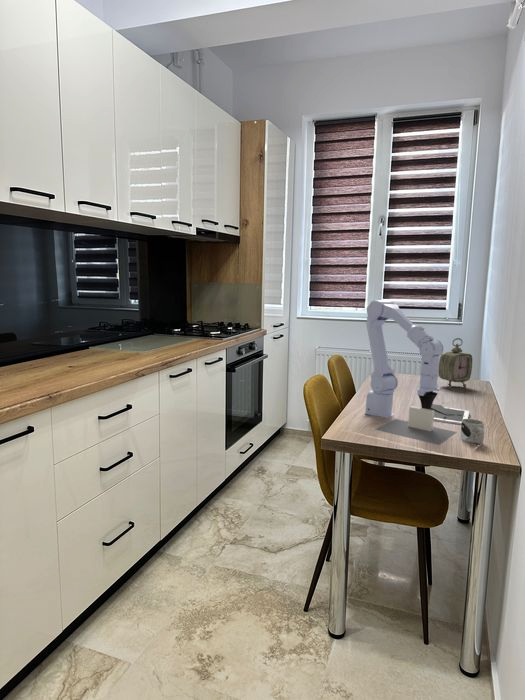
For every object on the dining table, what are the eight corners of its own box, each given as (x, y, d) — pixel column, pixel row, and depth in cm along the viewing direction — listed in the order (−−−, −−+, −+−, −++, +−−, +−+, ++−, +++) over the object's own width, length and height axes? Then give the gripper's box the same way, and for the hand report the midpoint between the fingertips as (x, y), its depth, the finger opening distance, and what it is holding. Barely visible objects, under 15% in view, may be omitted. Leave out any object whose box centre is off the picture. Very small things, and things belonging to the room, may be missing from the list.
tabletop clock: (449, 390, 235) (454, 339, 231) (435, 386, 243) (439, 337, 239) (469, 388, 241) (474, 338, 238) (455, 384, 249) (459, 336, 246)
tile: (408, 426, 168) (409, 407, 167) (410, 425, 170) (411, 406, 169) (430, 431, 164) (432, 411, 163) (432, 430, 165) (434, 410, 164)
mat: (374, 430, 163) (374, 429, 163) (395, 420, 177) (396, 418, 177) (439, 446, 150) (439, 444, 150) (456, 433, 164) (457, 432, 164)
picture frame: (427, 409, 198) (420, 422, 179) (428, 403, 197) (421, 414, 179) (469, 415, 191) (466, 429, 172) (469, 408, 191) (466, 421, 172)
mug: (456, 437, 160) (458, 418, 159) (475, 438, 160) (477, 418, 159) (471, 448, 150) (473, 427, 149) (491, 448, 150) (493, 428, 149)
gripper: (433, 379, 159) (430, 418, 161) (447, 373, 171) (444, 410, 173) (412, 375, 164) (409, 414, 166) (427, 370, 175) (424, 406, 177)
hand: (425, 412), depth 169 cm, fingers closed
